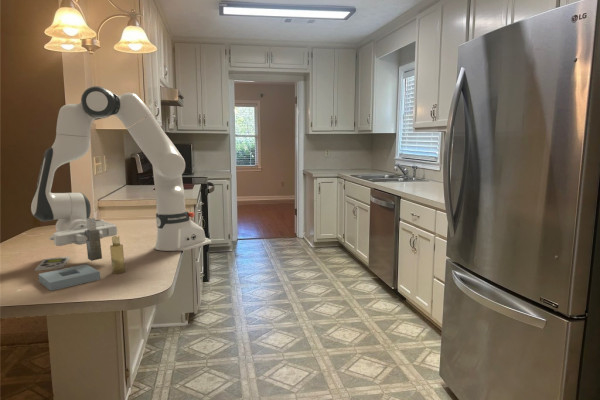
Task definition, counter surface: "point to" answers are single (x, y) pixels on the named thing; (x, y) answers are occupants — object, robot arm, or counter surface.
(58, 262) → the handheld gaming device
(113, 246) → the gold bottle
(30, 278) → the counter surface
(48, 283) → the socket plate
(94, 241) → the square bit
